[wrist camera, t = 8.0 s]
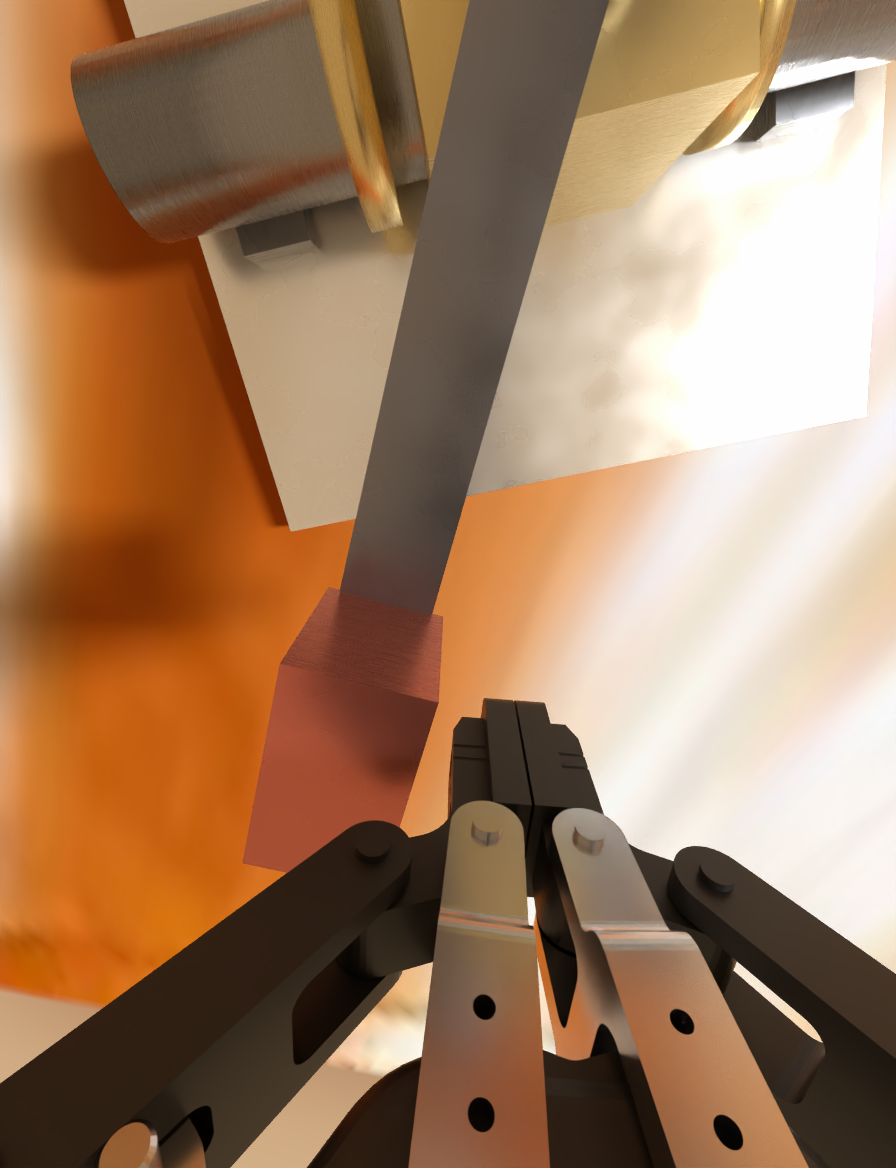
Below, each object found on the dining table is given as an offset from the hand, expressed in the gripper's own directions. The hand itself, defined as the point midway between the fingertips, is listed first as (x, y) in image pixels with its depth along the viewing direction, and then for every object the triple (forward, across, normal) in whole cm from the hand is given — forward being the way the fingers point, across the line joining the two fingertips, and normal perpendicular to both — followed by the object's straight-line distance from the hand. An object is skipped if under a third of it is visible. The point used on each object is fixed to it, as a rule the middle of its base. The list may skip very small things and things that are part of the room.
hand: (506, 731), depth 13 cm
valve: (+12, +1, -17) cm, 21 cm away
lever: (+3, +2, -8) cm, 9 cm away
